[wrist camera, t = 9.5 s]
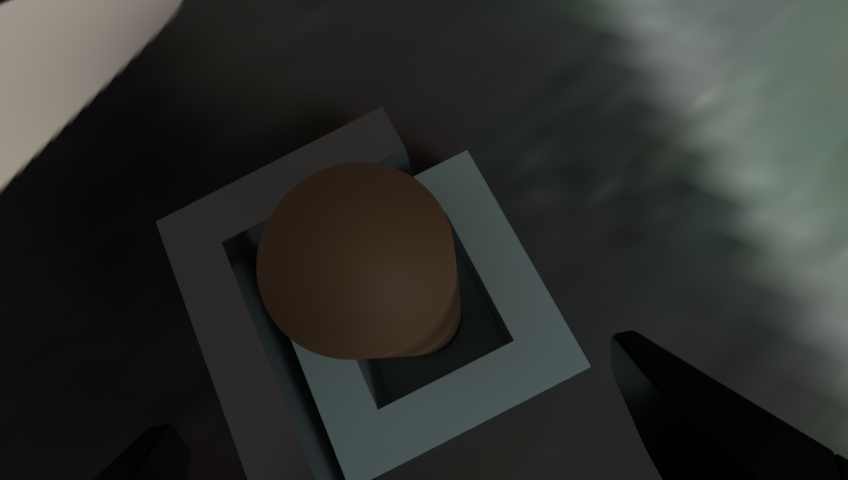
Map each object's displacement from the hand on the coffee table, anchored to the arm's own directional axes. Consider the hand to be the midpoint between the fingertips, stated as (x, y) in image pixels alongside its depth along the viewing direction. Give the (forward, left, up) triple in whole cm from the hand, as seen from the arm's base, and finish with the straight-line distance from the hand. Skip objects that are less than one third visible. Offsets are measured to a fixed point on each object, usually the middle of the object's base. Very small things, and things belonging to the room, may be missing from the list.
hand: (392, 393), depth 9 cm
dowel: (+2, -1, -11) cm, 12 cm away
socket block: (+2, -1, -12) cm, 13 cm away
